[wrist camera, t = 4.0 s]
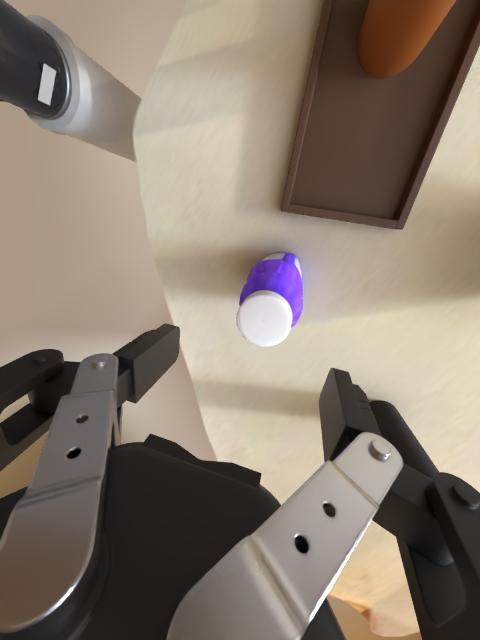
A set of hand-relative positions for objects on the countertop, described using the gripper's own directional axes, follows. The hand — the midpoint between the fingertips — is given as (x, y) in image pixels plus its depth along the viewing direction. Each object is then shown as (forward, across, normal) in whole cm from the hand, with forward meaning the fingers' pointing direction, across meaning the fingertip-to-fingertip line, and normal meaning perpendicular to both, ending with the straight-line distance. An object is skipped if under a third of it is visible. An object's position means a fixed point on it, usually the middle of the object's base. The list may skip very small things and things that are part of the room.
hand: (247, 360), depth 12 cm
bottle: (+23, 0, 0) cm, 23 cm away
